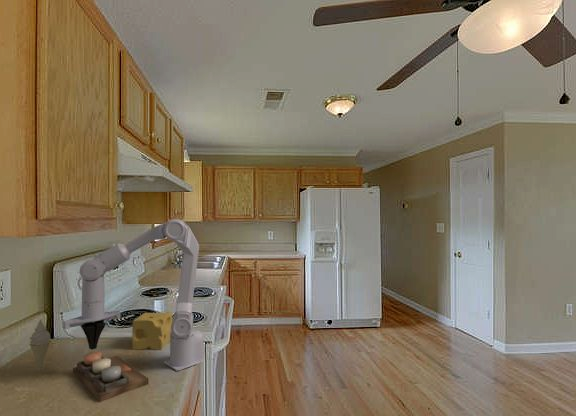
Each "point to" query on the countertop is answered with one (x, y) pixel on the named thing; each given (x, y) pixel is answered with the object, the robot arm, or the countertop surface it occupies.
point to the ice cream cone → (40, 344)
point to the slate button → (111, 373)
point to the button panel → (110, 388)
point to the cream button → (101, 365)
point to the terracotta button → (92, 357)
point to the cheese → (151, 330)
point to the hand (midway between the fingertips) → (92, 348)
